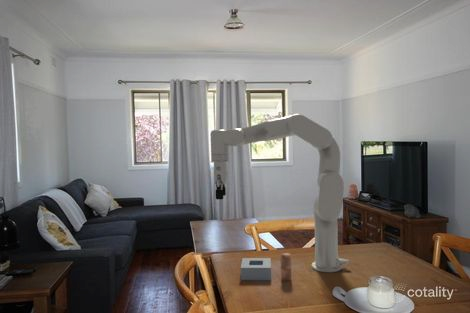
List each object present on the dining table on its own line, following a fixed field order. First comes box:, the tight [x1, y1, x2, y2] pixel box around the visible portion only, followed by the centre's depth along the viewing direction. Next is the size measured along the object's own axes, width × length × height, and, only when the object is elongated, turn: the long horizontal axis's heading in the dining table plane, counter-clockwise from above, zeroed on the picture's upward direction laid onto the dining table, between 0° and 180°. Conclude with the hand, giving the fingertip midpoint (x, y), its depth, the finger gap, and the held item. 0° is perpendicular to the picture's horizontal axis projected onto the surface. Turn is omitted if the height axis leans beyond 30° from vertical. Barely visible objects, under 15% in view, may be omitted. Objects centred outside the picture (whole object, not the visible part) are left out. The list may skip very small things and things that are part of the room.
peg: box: [280, 252, 292, 282], centre depth 153 cm, size 4×4×10 cm
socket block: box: [240, 257, 272, 281], centre depth 159 cm, size 12×12×5 cm
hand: (220, 197), depth 167 cm, fingers open, 9 cm apart
